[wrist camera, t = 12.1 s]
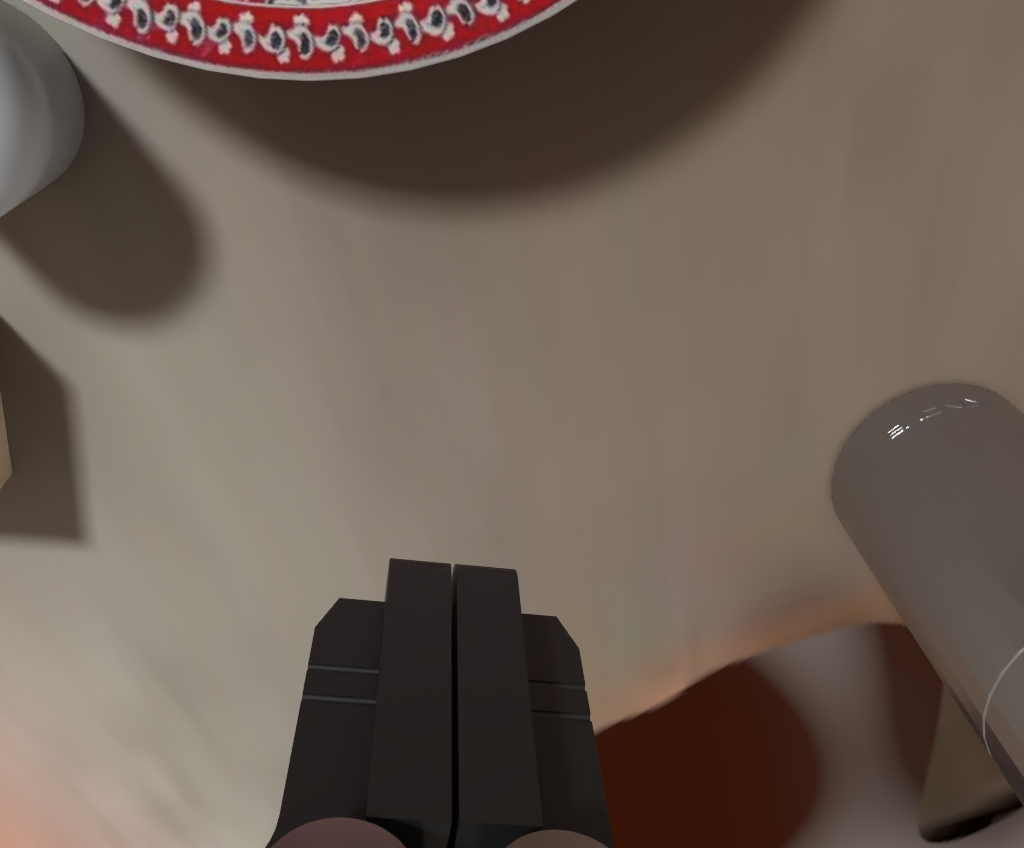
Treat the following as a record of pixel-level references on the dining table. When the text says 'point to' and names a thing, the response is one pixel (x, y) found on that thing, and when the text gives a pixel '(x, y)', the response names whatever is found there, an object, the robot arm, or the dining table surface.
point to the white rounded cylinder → (34, 109)
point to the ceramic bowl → (304, 32)
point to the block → (4, 450)
